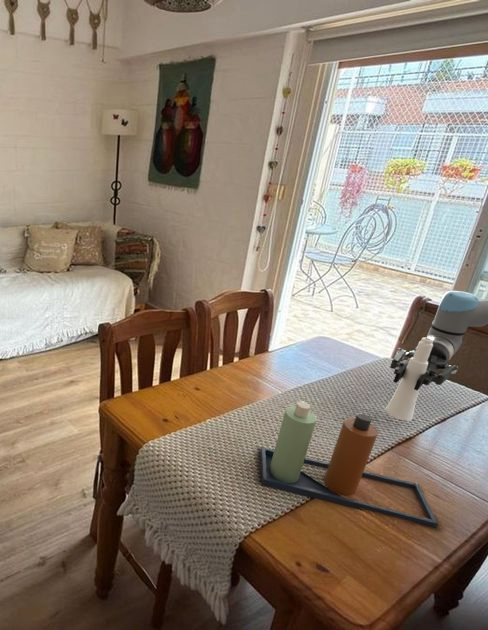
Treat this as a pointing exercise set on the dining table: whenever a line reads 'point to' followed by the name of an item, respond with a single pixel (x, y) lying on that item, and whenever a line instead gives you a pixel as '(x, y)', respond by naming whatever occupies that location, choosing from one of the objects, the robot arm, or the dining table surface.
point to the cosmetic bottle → (410, 383)
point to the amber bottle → (350, 455)
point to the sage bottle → (293, 442)
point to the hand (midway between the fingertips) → (407, 381)
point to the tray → (319, 491)
